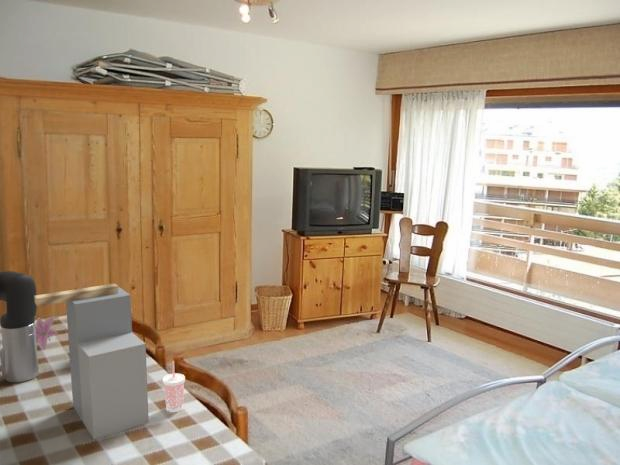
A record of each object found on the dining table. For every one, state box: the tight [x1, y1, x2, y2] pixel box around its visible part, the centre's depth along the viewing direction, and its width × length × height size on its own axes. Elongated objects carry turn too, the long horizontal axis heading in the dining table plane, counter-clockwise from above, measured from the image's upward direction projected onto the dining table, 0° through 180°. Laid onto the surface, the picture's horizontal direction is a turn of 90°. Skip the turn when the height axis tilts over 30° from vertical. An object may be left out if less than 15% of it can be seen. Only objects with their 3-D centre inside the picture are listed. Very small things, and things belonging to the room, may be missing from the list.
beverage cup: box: [162, 360, 186, 413], centre depth 147 cm, size 6×6×14 cm
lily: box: [35, 315, 59, 350], centre depth 190 cm, size 12×12×10 cm
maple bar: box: [34, 283, 119, 307], centre depth 139 cm, size 20×3×2 cm, turn 127°
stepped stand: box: [65, 286, 150, 440], centre depth 141 cm, size 14×20×32 cm
